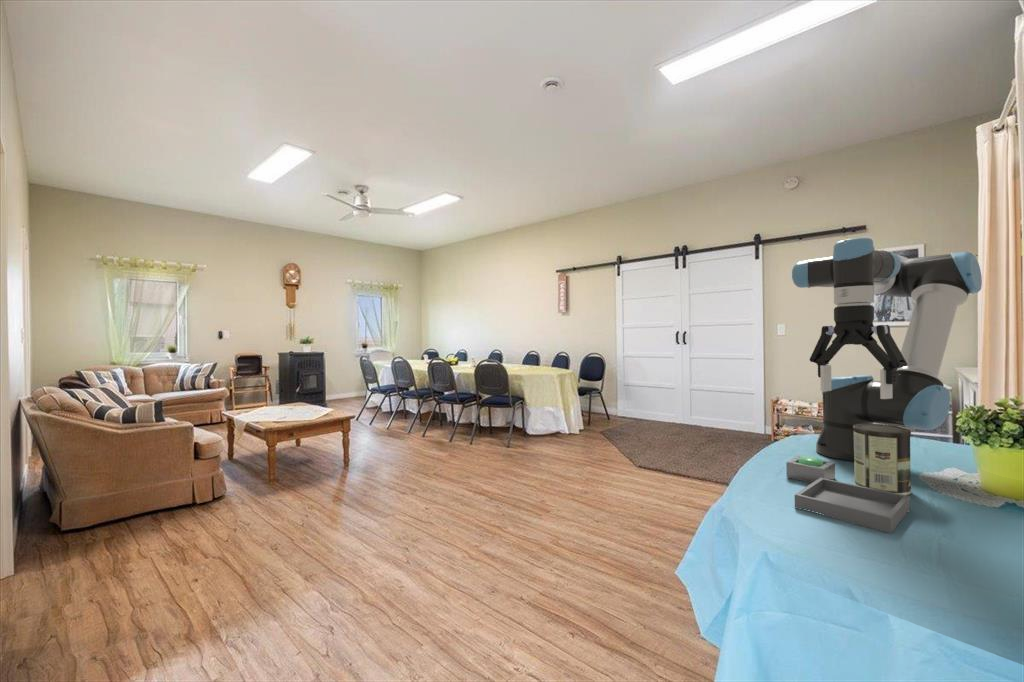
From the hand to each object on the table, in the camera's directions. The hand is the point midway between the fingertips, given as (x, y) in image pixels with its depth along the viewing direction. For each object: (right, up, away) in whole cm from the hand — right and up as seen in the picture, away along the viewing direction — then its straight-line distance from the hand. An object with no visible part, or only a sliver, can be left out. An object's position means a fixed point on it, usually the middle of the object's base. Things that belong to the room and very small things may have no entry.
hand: (854, 394), depth 104 cm
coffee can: (+4, -22, -2) cm, 22 cm away
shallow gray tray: (-11, -22, -13) cm, 28 cm away
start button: (-7, -21, +5) cm, 23 cm away
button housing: (-7, -22, +5) cm, 23 cm away
